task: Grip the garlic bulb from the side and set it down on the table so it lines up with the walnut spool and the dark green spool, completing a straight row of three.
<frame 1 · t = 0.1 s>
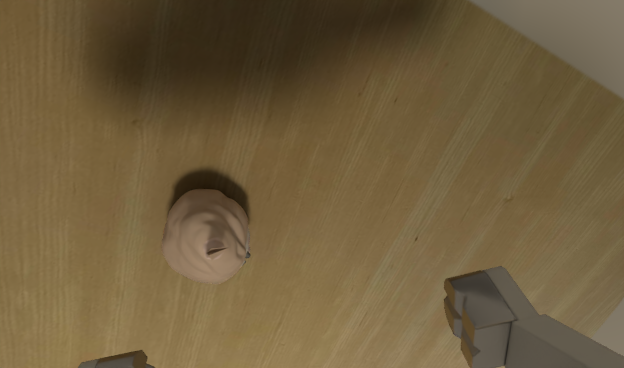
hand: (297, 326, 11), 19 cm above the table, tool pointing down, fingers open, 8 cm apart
garlic bulb: (209, 209, 32), on the table
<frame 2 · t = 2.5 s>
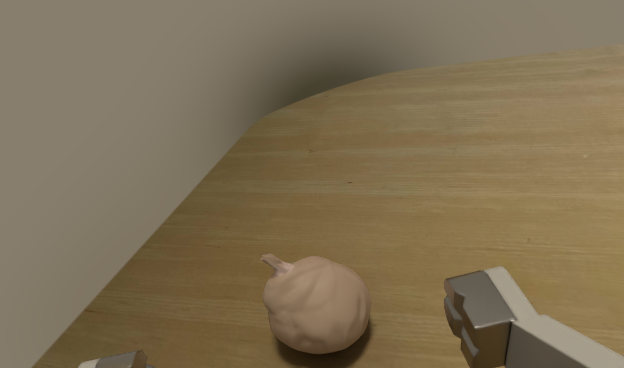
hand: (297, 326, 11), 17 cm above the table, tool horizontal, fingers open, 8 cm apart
garlic bulb: (326, 334, 31), on the table
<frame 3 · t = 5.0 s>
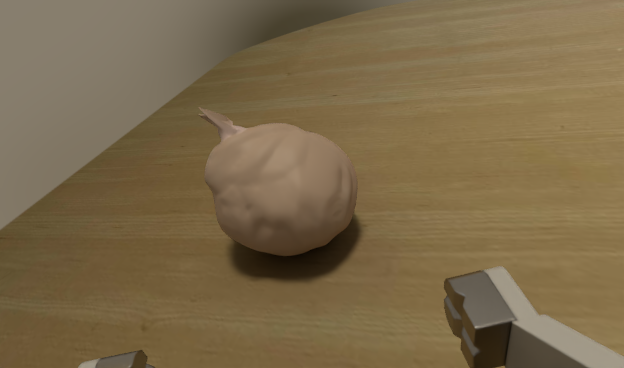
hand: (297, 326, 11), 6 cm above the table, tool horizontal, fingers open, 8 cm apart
garlic bulb: (299, 240, 23), on the table
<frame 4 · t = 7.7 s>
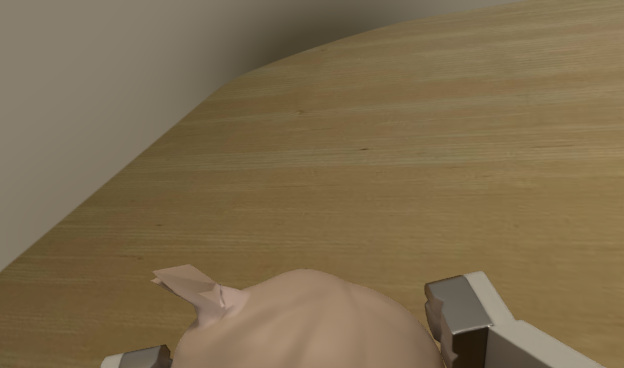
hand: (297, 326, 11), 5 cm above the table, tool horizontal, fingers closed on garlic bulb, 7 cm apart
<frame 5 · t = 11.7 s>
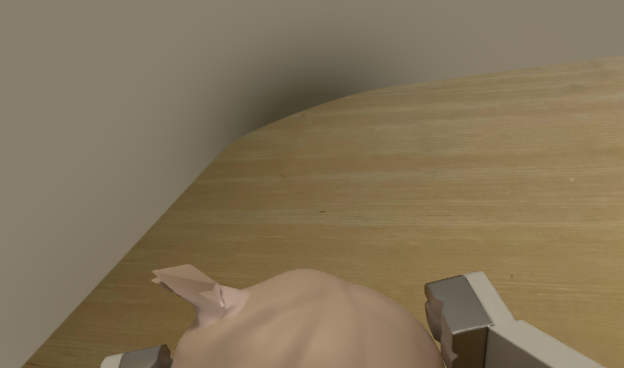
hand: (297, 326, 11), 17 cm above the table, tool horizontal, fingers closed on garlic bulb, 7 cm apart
when the fingers open (5 cm above the table, at t = 15.7 s): garlic bulb stays where it is, on the table.
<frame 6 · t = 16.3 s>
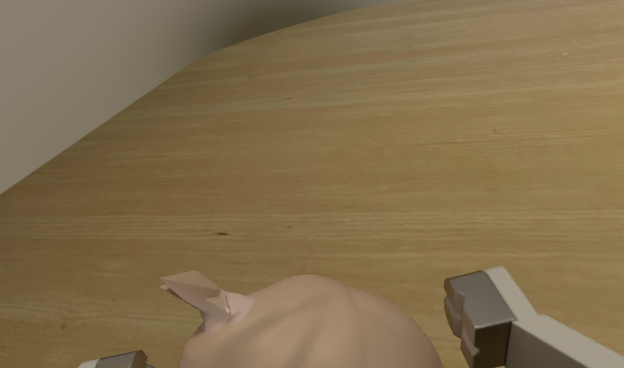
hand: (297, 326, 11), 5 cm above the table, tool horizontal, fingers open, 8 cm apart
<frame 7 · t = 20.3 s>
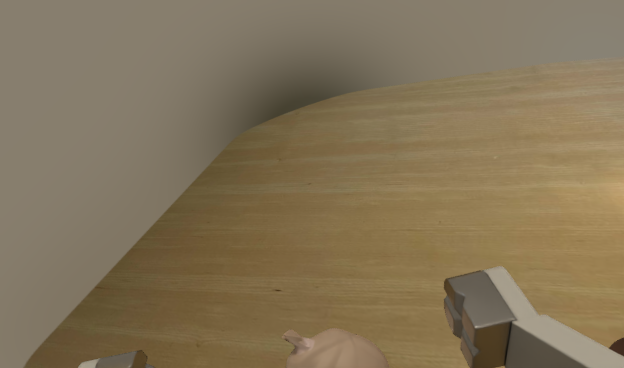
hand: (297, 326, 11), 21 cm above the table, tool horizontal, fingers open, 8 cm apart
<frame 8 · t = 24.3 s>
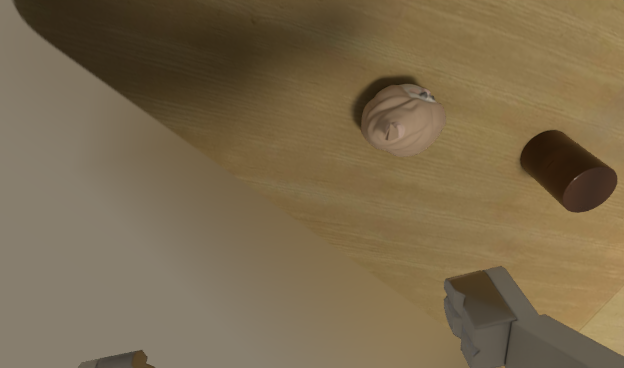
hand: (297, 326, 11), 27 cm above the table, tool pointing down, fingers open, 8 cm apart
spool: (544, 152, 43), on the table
garlic bulb: (391, 106, 38), on the table
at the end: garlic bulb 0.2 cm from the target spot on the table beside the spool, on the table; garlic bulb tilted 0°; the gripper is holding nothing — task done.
